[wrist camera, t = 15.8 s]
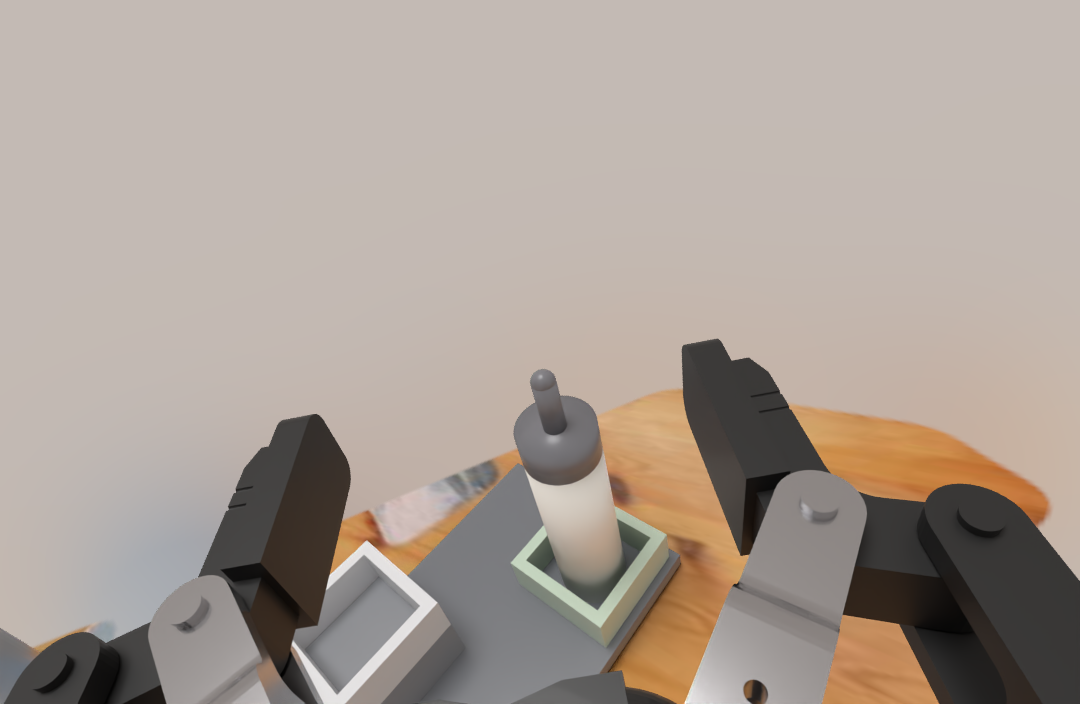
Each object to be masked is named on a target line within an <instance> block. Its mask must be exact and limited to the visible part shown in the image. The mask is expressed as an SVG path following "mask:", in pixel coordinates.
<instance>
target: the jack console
mask: <svg viewBox="0 0 1080 704" xmlns="http://www.w3.org/2000/svg"><path fill="white" fill-rule="evenodd" d="M614 507H615V506H614ZM615 513H616V518H617V523H618V528H619V533H620V538H621V543H622V548H623V553H624V558H625V563H626V569H627V571H626V572H625V574H624V575H623V577H622V578H621V579H620V581H619V582H618V583H617V585H616V586H615V587H614V589H613V590H612V592H611V593H610V594H609V596H608V597H607V598H606V600H605V601H604V602H600V603H586V602H585V601H583V600H582V599H580V598H579V597H578V596H576V595H575V594H573V593H572V592H570V591H569V590H568V589H566V587H565V585H564V582H563V580H562V577H561V574H560V571H559V568H558V565H557V562H556V559H555V556H554V553H553V550H552V547H551V544H550V542H549V539H548V536H547V533H546V530H545V527H544V524H543V521H542V518H541V515H540V512H539V509H538V506H537V503H536V501H535V498H534V495H533V492H532V489H531V486H530V483H529V480H528V477H527V474H526V471H525V468H524V466H522V465H520V464H517V465H516V466H515V467H514V468H513V469H512V470H511V471H510V472H509V473H508V474H507V475H506V476H505V477H504V478H503V479H502V480H501V481H500V482H499V483H498V484H497V485H496V486H495V487H494V488H493V489H492V490H491V491H490V492H489V493H488V494H487V495H486V496H485V497H484V498H483V499H482V500H481V501H480V502H479V503H478V504H477V505H476V506H475V508H474V509H473V510H472V511H471V512H470V513H469V514H468V515H467V516H466V517H465V518H464V519H463V520H462V521H461V522H460V523H459V524H458V525H457V526H456V527H455V528H454V529H453V530H452V531H451V532H450V533H449V534H448V535H447V536H446V537H445V538H444V539H443V540H442V541H441V542H440V543H439V544H438V545H437V546H436V547H435V548H434V549H433V550H432V551H431V552H430V553H429V554H428V555H427V556H426V557H425V558H424V559H423V560H422V562H421V563H420V564H419V565H418V566H417V567H416V568H415V569H414V570H413V571H412V572H411V573H410V574H409V575H408V576H407V575H406V574H404V573H403V572H402V571H401V570H400V569H399V568H398V567H396V566H395V565H394V564H393V563H392V562H391V561H390V560H388V559H387V558H386V557H385V556H384V555H383V554H382V553H380V552H379V551H378V550H377V549H376V548H375V547H374V546H372V545H371V544H370V543H369V542H368V541H366V542H365V543H364V544H363V545H361V546H360V547H359V548H358V549H357V550H356V551H355V552H354V553H353V554H352V555H351V556H350V557H349V558H348V559H346V560H345V561H344V562H343V563H342V564H341V565H340V566H339V567H338V568H337V569H336V570H335V571H334V572H333V573H331V574H330V575H329V579H328V583H327V588H326V592H325V596H324V601H323V605H322V609H321V614H320V618H319V622H318V626H312V627H306V628H300V629H296V630H295V634H294V638H293V642H292V646H293V647H294V648H295V649H296V651H297V653H298V655H299V657H300V658H301V660H302V662H303V664H304V666H305V668H306V670H307V672H308V674H309V676H310V678H311V680H312V682H313V684H314V686H315V688H316V689H317V691H318V693H319V695H320V697H321V699H322V701H323V703H324V704H415V703H421V702H427V701H434V700H446V701H452V702H459V703H466V704H511V703H513V702H516V701H518V700H520V699H522V698H524V697H526V696H528V695H531V694H533V693H535V692H537V691H539V690H541V689H544V688H546V687H548V686H550V685H552V684H554V683H556V682H559V681H561V680H565V679H571V678H578V677H584V676H590V675H596V674H603V673H607V672H608V671H609V669H610V668H611V666H612V665H613V663H614V662H615V660H616V659H617V657H618V656H619V654H620V653H621V651H622V650H623V648H624V647H625V646H626V644H627V643H628V641H629V640H630V638H631V637H632V635H633V634H634V632H635V631H636V629H637V628H638V626H639V625H640V623H641V622H642V620H643V619H644V617H645V616H646V614H647V613H648V611H649V610H650V608H651V607H652V605H653V604H654V602H655V601H656V599H657V598H658V596H659V595H660V593H661V592H662V590H663V589H664V588H665V586H666V585H667V583H668V582H669V580H670V579H671V577H672V576H673V574H674V573H675V571H676V570H677V568H678V567H679V565H680V564H681V561H680V555H679V554H677V553H676V552H674V551H672V550H670V549H668V542H667V535H666V534H664V533H663V532H661V531H659V530H657V529H655V528H653V527H652V526H650V525H648V524H646V523H644V522H643V521H641V520H639V519H637V518H635V517H634V516H632V515H630V514H628V513H626V512H624V511H623V510H621V509H619V508H617V507H615Z"/></svg>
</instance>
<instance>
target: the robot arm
mask: <svg viewBox="0 0 1080 704" xmlns="http://www.w3.org/2000/svg"><path fill="white" fill-rule="evenodd" d="M682 367H683V368H682V370H683V398H684V405H685V411H686V415H687V419H688V422H689V425H690V427H691V430H692V433H693V435H694V438H695V440H696V443H697V445H698V448H699V451H700V453H701V456H702V458H703V461H704V463H705V466H706V468H707V471H708V474H709V476H710V479H711V481H712V484H713V486H714V489H715V491H716V494H717V497H718V499H719V502H720V504H721V507H722V509H723V512H724V515H725V517H726V520H727V522H728V525H729V527H730V530H731V532H732V535H733V538H734V540H735V543H736V545H737V548H738V550H739V553H740V555H741V556H743V555H749V554H750V555H749V558H748V561H747V563H746V566H745V568H744V571H743V573H742V576H741V578H740V580H739V582H738V583H737V584H734V585H733V586H732V588H731V589H730V591H729V593H728V596H727V598H726V600H725V603H724V605H723V608H722V610H721V613H720V615H719V618H718V620H717V623H716V625H715V628H714V630H713V633H712V636H711V638H710V641H709V643H708V646H707V648H706V651H705V653H704V656H703V658H702V661H701V663H700V666H699V668H698V671H697V674H696V676H695V679H694V681H693V684H692V686H691V689H690V691H689V694H688V696H687V699H686V701H685V704H822V701H823V697H824V693H825V689H826V685H827V681H828V676H829V672H830V668H831V664H832V660H833V656H834V652H835V648H836V644H837V640H838V635H839V630H840V629H839V628H840V623H841V619H842V615H848V616H854V617H860V618H866V619H872V620H879V621H885V622H891V623H897V624H899V625H900V627H901V629H902V631H903V633H904V635H905V637H906V639H907V641H908V643H909V645H910V647H911V649H912V650H913V652H914V654H915V656H916V658H917V660H918V662H919V664H920V666H921V668H922V670H923V672H924V674H925V676H926V678H927V680H928V682H929V684H930V686H931V688H932V690H933V692H934V694H935V696H936V698H937V700H938V702H939V704H1080V581H1079V580H1078V578H1077V577H1076V576H1075V575H1074V574H1073V572H1072V571H1071V570H1070V568H1069V567H1068V566H1067V565H1066V563H1065V562H1064V561H1063V560H1062V558H1061V557H1060V556H1059V555H1058V554H1057V552H1056V551H1055V550H1054V548H1053V547H1052V546H1051V545H1050V543H1049V542H1048V541H1047V540H1046V538H1045V537H1044V536H1043V535H1042V533H1041V532H1040V531H1039V530H1038V528H1037V527H1036V526H1035V525H1034V523H1033V522H1032V521H1031V520H1030V518H1029V517H1028V516H1027V515H1026V514H1025V513H1024V511H1023V510H1022V509H1021V508H1020V507H1018V506H1017V505H1016V504H1015V503H1014V502H1012V501H1011V500H1009V499H1008V498H1006V497H1004V496H1002V495H1000V494H999V493H997V492H994V491H992V490H989V489H986V488H983V487H980V486H975V485H970V484H950V485H945V486H942V487H940V488H938V489H936V490H934V491H933V492H932V493H931V494H930V495H929V496H928V498H927V500H926V502H918V501H908V500H899V499H889V498H881V497H874V496H870V495H867V494H863V493H861V492H858V491H857V490H856V489H855V488H854V487H853V486H852V485H851V484H849V483H848V482H847V481H845V480H844V479H842V478H840V477H838V476H836V475H833V474H831V473H830V472H829V471H828V469H827V468H826V466H825V465H824V463H823V462H822V460H821V458H820V457H819V455H818V453H817V452H816V450H815V448H814V447H813V445H812V443H811V442H810V440H809V438H808V437H807V435H806V433H805V432H804V430H803V428H802V427H801V425H800V423H799V422H798V420H797V419H796V417H795V415H794V414H793V412H792V410H790V409H789V405H788V404H787V402H786V400H785V399H784V397H783V395H782V394H780V390H779V389H778V387H777V385H776V384H775V382H774V380H773V379H772V377H771V375H770V374H769V372H768V371H766V370H765V369H764V368H762V367H761V366H760V365H758V364H757V363H755V362H754V361H753V360H751V359H750V358H744V359H739V360H734V361H731V359H730V357H729V355H728V353H727V352H726V350H725V348H724V346H723V344H722V342H721V341H720V340H719V339H713V340H708V341H702V342H697V343H692V344H687V345H683V347H682ZM350 477H351V476H350V468H349V464H348V461H347V459H346V457H345V455H344V453H343V452H342V450H341V448H340V447H339V445H338V443H337V442H336V440H335V438H334V437H333V435H332V434H331V432H330V430H329V429H328V427H327V425H326V424H325V422H324V420H323V419H322V418H321V417H320V416H319V415H317V414H312V415H307V416H302V417H297V418H291V419H286V420H282V421H281V422H280V423H279V424H278V425H277V428H276V430H275V432H274V435H273V437H272V440H271V443H270V445H269V447H264V448H261V449H260V450H259V451H258V453H257V454H256V455H255V456H254V457H253V459H252V460H251V461H250V462H249V463H248V465H247V466H246V467H245V468H244V470H243V473H242V475H241V478H240V480H239V482H238V484H237V487H236V493H234V494H233V496H232V499H231V501H230V504H229V506H228V507H229V510H228V511H226V513H225V515H224V518H223V520H222V522H221V525H220V527H219V529H218V532H217V534H216V536H215V539H214V541H213V543H212V546H211V548H210V551H209V553H208V555H207V558H206V560H205V562H204V565H203V568H202V569H201V572H200V574H199V576H198V578H195V579H193V580H191V581H189V582H187V583H185V584H184V585H182V586H180V587H179V588H178V589H177V590H175V591H174V592H173V593H172V594H171V595H170V596H169V597H167V599H166V600H165V601H164V602H163V603H162V604H161V606H160V607H159V608H158V610H157V611H156V613H155V615H154V617H153V619H152V621H151V622H150V623H148V624H145V625H143V626H141V627H139V628H137V629H135V630H133V631H131V632H129V633H126V634H124V635H122V636H120V637H118V638H116V639H114V640H111V641H109V642H107V643H105V642H103V641H102V640H101V639H99V638H98V637H96V636H95V635H93V634H91V633H87V632H80V633H75V634H72V635H68V636H66V637H64V638H62V639H60V640H58V641H56V642H55V643H53V644H52V645H50V646H49V647H47V648H46V649H45V650H44V651H42V652H41V653H40V652H39V651H37V650H35V649H34V648H32V647H30V646H29V645H27V644H25V643H24V642H22V641H21V640H19V639H17V638H16V637H14V636H13V635H11V634H9V633H8V632H6V631H4V630H3V629H1V628H0V704H324V703H323V701H322V699H321V697H320V695H319V693H318V691H317V689H316V688H315V686H314V684H313V682H312V680H311V678H310V676H309V674H308V672H307V670H306V668H305V666H304V664H303V662H302V660H301V658H300V657H299V655H298V653H297V651H296V649H295V648H294V647H293V646H292V642H293V638H294V634H295V630H296V629H300V628H306V627H312V626H318V622H319V618H320V614H321V609H322V605H323V601H324V596H325V592H326V588H327V583H328V579H329V575H330V570H331V566H332V562H333V557H334V553H335V549H336V544H337V540H338V536H339V531H340V527H341V523H342V518H343V514H344V509H345V505H346V500H347V496H348V492H349V487H350V480H351V478H350ZM415 704H466V703H459V702H452V701H446V700H434V701H427V702H421V703H415ZM511 704H676V703H675V702H673V701H671V700H669V699H667V698H664V697H662V696H660V695H658V694H655V693H652V692H648V691H645V690H641V689H636V688H629V687H625V682H624V678H623V673H622V670H621V671H615V672H609V673H603V674H596V675H590V676H584V677H578V678H571V679H565V680H561V681H559V682H556V683H554V684H552V685H550V686H548V687H546V688H544V689H541V690H539V691H537V692H535V693H533V694H531V695H528V696H526V697H524V698H522V699H520V700H518V701H516V702H513V703H511Z"/></svg>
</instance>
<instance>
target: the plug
mask: <svg viewBox="0 0 1080 704" xmlns="http://www.w3.org/2000/svg"><path fill="white" fill-rule="evenodd" d="M530 384H531V388H532V392H533V395H534V399H535V403H533V404H532V405H530V406H529V407H528V408H526V409H525V410H524V411H523V412H522V413H521V415H520V416H519V417H518V419H517V421H516V423H515V426H514V439H515V442H516V445H517V448H518V451H519V454H520V457H521V460H522V462H523V465H524V468H525V471H526V474H527V477H528V480H529V483H530V486H531V489H532V492H533V495H534V498H535V501H536V503H537V506H538V509H539V512H540V515H541V518H542V521H543V524H544V527H545V530H546V533H547V536H548V539H549V542H550V544H551V547H552V550H553V553H554V556H555V559H556V562H557V565H558V568H559V571H560V574H561V577H562V580H563V582H564V585H565V587H566V589H568V590H569V591H570V592H572V593H573V594H575V595H576V596H578V597H579V598H580V599H582V600H583V601H585V602H586V603H600V602H604V601H605V600H606V598H607V597H608V596H609V594H610V593H611V592H612V590H613V589H614V587H615V586H616V585H617V583H618V582H619V581H620V579H621V578H622V577H623V575H624V574H625V572H626V571H627V569H626V563H625V558H624V553H623V548H622V543H621V538H620V533H619V528H618V523H617V518H616V513H615V507H614V502H613V497H612V492H611V487H610V482H609V477H608V472H607V467H606V462H605V457H604V452H603V447H602V442H601V437H600V431H599V426H598V421H597V417H596V414H595V412H594V410H593V409H592V407H591V406H590V405H589V404H588V403H586V402H585V401H583V400H581V399H578V398H575V397H571V396H560V394H559V390H558V386H557V382H556V378H555V376H554V374H553V373H552V372H551V371H549V370H546V369H541V370H538V371H536V372H535V373H534V374H533V375H532V377H531V380H530Z"/></svg>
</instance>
